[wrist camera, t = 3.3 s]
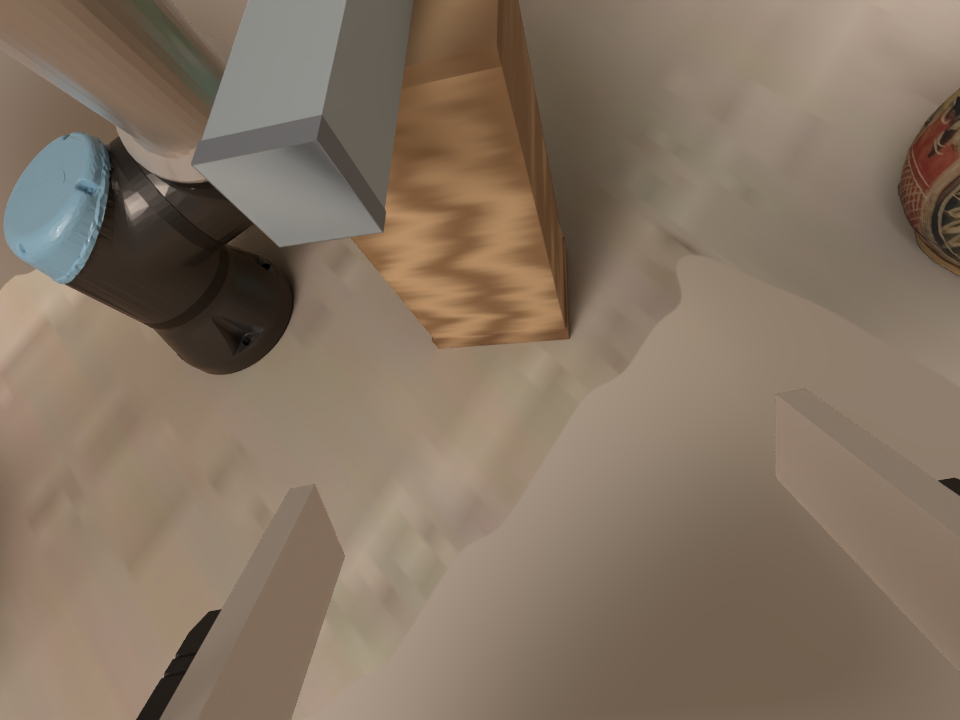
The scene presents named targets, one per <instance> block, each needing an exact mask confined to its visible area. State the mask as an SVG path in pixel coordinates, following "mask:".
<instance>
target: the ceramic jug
mask: <svg viewBox="0 0 960 720" xmlns="http://www.w3.org/2000/svg"><path fill="white" fill-rule="evenodd" d="M898 194H899V197H900V200H901V203H902V207H903V210H904V213H905V215H906V217H907V219H908V221H909V223H910V225H911V226H912V227H913V229H914V230H915V236H916V240H917V243H918V245H919V247H920V248H921V249H922V250H923V251H924V252H925V253H926V254H927V255H928V256H929V257H930V258H931V259H932V260H933V261H934V262H936V263H937V264H939V265H941V266H942V267H944V268H946V269H947V270H949V271H951V272H953V273H954V274H956V275H958V276H960V88H959V89H958V90H957V91H956V92H955V93H954V94H953V95H952V96H951V97H950V98H948V99H947V100H946V101H945V102H944V103H943V104H942V105H941V106H940V107H939V108H938V109H937V111H936V112H934V113H933V114H932V115H931V116H930V117H929V118H928V120H927V121H926V123H925V124H924V126H923V127H922V129H921V130H920V132H919V133H918V135H917V137H916V138H915V140H914V142H913V143H912V145H911V147H910V149H909V150H908V153H907V157H906V160H905V163H904V166H903V170H902V175H901V181H900V183H899V185H898Z"/></svg>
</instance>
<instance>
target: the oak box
mask: <svg viewBox="0 0 960 720" xmlns="http://www.w3.org/2000/svg"><path fill="white" fill-rule="evenodd" d="M385 210H386V218H385V225H384V232H383V233H378V234H371V235H364V236H357V237H350V238H351V239H352V240H353V241H354V242H355V244H356V245H357V246H358V247H359V249H360V250H361V251H362V252H363V253H364V255H365V256H366V257H367V258H368V259H369V261H370V262H371V263H372V264H373V265H374V267H375V268H376V269H377V270H378V272H379V273H380V274H381V275H382V276H383V278H384V279H385V280H386V281H387V282H388V284H389V285H390V286H391V287H392V288H393V290H394V291H395V292H396V293H397V294H398V296H399V297H400V298H401V299H402V301H403V302H404V303H405V304H406V305H407V307H408V308H409V309H410V310H411V311H412V313H413V314H414V315H415V316H416V317H417V319H418V320H419V321H420V322H421V324H422V325H423V326H424V327H425V328H426V330H427V331H428V332H429V333H430V334H431V336H432V341H433V342H434V344H435V345H436V346H437V347H438V348H439V349H440V348H454V347H467V346H481V345H494V344H508V343H521V342H535V341H548V340H562V339H569V310H568V280H567V251H566V243H565V238H564V237H563V238H562V234H561V229H560V223H559V218H558V212H557V207H556V202H555V196H554V191H553V185H552V180H551V175H550V169H549V164H548V158H547V153H546V148H545V142H544V137H543V131H542V126H541V121H540V115H539V110H538V104H537V99H536V94H535V88H534V83H533V77H532V72H531V67H530V61H529V56H528V50H527V45H526V40H525V34H524V29H523V23H522V18H521V13H520V7H519V2H518V0H414V1H413V8H412V15H411V22H410V30H409V37H408V44H407V51H406V59H405V66H404V73H403V81H402V88H401V95H400V102H399V110H398V117H397V124H396V132H395V139H394V146H393V153H392V161H391V168H390V175H389V182H388V190H387V197H386V204H385Z"/></svg>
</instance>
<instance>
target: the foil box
mask: <svg viewBox="0 0 960 720" xmlns="http://www.w3.org/2000/svg"><path fill="white" fill-rule="evenodd" d="M413 1H414V0H248V2H247V5H246V8H245V11H244V14H243V17H242V21H241V24H240V27H239V30H238V32H237V36H236V38H235V41H234V44H233V47H232V50H231V53H230V56H229V59H228V62H227V65H226V68H225V71H224V74H223V77H222V80H221V83H220V86H219V89H218V92H217V95H216V98H215V101H214V104H213V107H212V110H211V113H210V116H209V119H208V122H207V125H206V128H205V131H204V134H203V137H202V140H201V141H198V144H197V147H196V150H195V153H194V156H193V159H192V162H191V166H192V167H194V168H195V169H196V170H197V171H198V172H199V173H200V174H201V175H202V176H203V177H204V178H205V179H206V180H207V181H209V182H210V183H211V184H212V185H213V186H214V187H215V188H216V189H217V190H218V191H219V192H220V193H221V194H223V195H224V196H225V197H226V198H227V199H228V200H229V201H230V202H231V203H232V204H233V205H234V206H235V207H237V208H238V209H239V210H240V211H241V212H242V213H243V214H244V215H245V216H246V217H247V218H248V219H249V220H250V221H252V222H253V223H254V224H255V225H256V226H257V227H258V228H259V229H260V230H261V231H262V232H263V233H264V234H266V235H267V236H268V237H269V238H270V239H271V240H272V241H273V242H274V243H275V244H276V245H277V246H278V247H286V246H293V245H300V244H307V243H314V242H321V241H329V240H336V239H343V238H350V237H357V236H364V235H371V234H378V233H383V232H384V225H385V218H386V210H385V204H386V197H387V190H388V182H389V175H390V168H391V161H392V153H393V146H394V139H395V132H396V124H397V117H398V110H399V102H400V95H401V88H402V81H403V73H404V66H405V59H406V51H407V44H408V37H409V30H410V22H411V15H412V8H413Z"/></svg>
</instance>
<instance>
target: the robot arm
mask: <svg viewBox="0 0 960 720" xmlns="http://www.w3.org/2000/svg"><path fill="white" fill-rule="evenodd" d="M0 49H1V50H2V51H4V52H5V53H7V54H8V55H10V56H11V57H13V58H14V59H16V60H17V61H19V62H20V63H22V64H23V65H25V66H26V67H28V68H29V69H31V70H32V71H34V72H35V73H37V74H38V75H40V76H42V77H43V78H45V79H46V80H48V81H49V82H51V83H52V84H54V85H55V86H57V87H58V88H60V89H61V90H63V91H64V92H66V93H67V94H69V95H70V96H72V97H73V98H75V99H76V100H78V101H79V102H81V103H83V104H84V105H86V106H87V107H89V108H90V109H92V110H93V111H95V112H96V113H98V114H99V115H101V116H102V117H104V118H105V119H107V120H108V121H110V122H111V123H113V124H114V125H116V129H117V132H118V134H119V137H117V138H116V139H114V140H113V141H111V142H110V143H109V144H107V145H105V144H104V143H103V142H102V141H101V140H100V139H99V138H97V137H94V136H91V135H89V134H86V133H83V132H73V133H71V134H70V135H63V136H61V137H59V138H57V139H55V140H54V141H53V142H51V143H50V144H48V145H47V146H46V147H45V148H44V149H43V150H42V151H41V152H40V153H39V154H38V155H37V156H36V157H35V158H34V159H33V160H32V161H31V163H30V164H29V165H28V166H27V168H26V169H25V170H24V172H23V173H22V175H21V176H20V178H19V180H18V181H17V183H16V185H15V187H14V189H13V191H12V194H11V195H10V198H9V200H8V203H7V207H6V210H5V215H4V235H5V239H6V241H7V243H8V245H9V247H10V249H11V250H12V252H13V253H14V254H15V255H16V256H17V257H19V258H20V259H21V260H23V261H25V262H26V263H28V264H29V265H31V266H33V267H34V268H36V269H38V270H39V271H41V272H43V273H44V274H46V275H48V276H49V277H51V278H52V279H53V280H54V281H56V282H57V283H60V284H65V285H67V286H69V287H71V288H73V289H75V290H77V291H79V292H81V293H83V294H85V295H87V296H89V297H91V298H93V299H95V300H97V301H99V302H101V303H103V304H105V305H107V306H109V307H111V308H113V309H115V310H117V311H119V312H121V313H123V314H125V315H127V316H129V317H131V318H133V319H135V320H137V321H140V322H142V323H144V324H145V325H147V326H149V327H151V328H153V329H154V330H155V331H156V332H157V333H158V334H159V335H160V336H161V337H162V339H163V340H164V341H165V342H166V343H167V344H168V345H169V346H170V347H171V348H172V349H173V350H174V351H175V352H176V353H177V355H178V356H179V357H180V358H181V359H182V360H184V361H185V362H186V363H188V364H189V365H191V366H193V367H196V368H198V369H200V370H202V371H204V372H207V373H210V374H217V375H223V374H230V373H234V372H237V371H240V370H243V369H245V368H247V367H249V366H251V365H252V364H254V363H255V362H257V361H258V360H260V359H261V358H262V357H263V356H264V355H265V354H267V353H268V352H269V351H270V350H271V348H272V347H273V346H274V345H275V344H276V342H277V341H278V340H279V338H280V337H281V335H282V334H283V332H284V330H285V328H286V326H287V324H288V321H289V318H290V315H291V311H292V303H293V296H292V289H291V286H290V283H289V281H288V279H287V277H286V276H285V275H284V274H283V273H282V272H281V271H280V270H279V269H278V268H277V267H276V266H274V265H273V264H272V263H271V262H269V261H268V260H266V259H265V258H263V257H260V256H258V255H255V254H252V253H250V252H247V251H244V250H242V249H239V248H236V247H233V246H231V245H228V244H227V243H228V242H229V241H231V240H232V239H233V238H235V237H236V236H238V235H239V234H241V233H242V232H243V231H245V230H246V229H248V228H249V227H250V226H252V225H253V224H254V223H253V222H252V221H250V220H249V219H248V218H247V217H246V216H245V215H244V214H243V213H242V212H241V211H240V210H239V209H238V208H237V207H235V206H234V205H233V204H232V203H231V202H230V201H229V200H228V199H227V198H226V197H225V196H224V195H223V194H221V193H220V192H219V191H218V190H217V189H216V188H215V187H214V186H213V185H212V184H211V183H210V182H209V181H207V180H206V179H205V178H204V177H203V176H202V175H201V174H200V173H199V172H198V171H197V170H196V169H195V168H194V167H192V166H191V162H192V159H193V156H194V153H195V150H196V147H197V144H198V141H201V140H202V137H203V134H204V131H205V128H206V125H207V122H208V119H209V116H210V113H211V110H212V107H213V104H214V101H215V98H216V95H217V92H218V89H219V86H220V83H221V80H222V77H223V74H224V71H225V68H226V65H227V62H228V59H229V56H230V53H231V50H232V46H231V45H229V44H227V43H226V42H224V41H222V40H220V39H217V38H215V37H212V36H209V35H205V34H199V33H198V32H197V31H196V29H195V28H194V27H193V26H192V25H191V23H190V22H189V21H188V20H187V19H186V17H185V16H184V15H183V14H182V13H181V12H180V10H179V9H178V8H177V7H176V6H175V5H174V3H173V2H172V1H171V0H0ZM775 470H776V472H775V474H776V476H775V477H776V478H777V479H778V481H779V482H780V483H781V484H782V485H783V486H784V487H785V488H786V489H787V490H788V491H789V492H790V493H791V494H792V495H793V496H794V497H795V499H796V500H797V501H798V502H799V503H800V504H801V505H802V506H803V507H804V508H805V509H806V510H807V511H808V512H809V513H810V514H811V515H812V517H813V518H814V519H815V520H816V521H817V522H818V523H819V524H820V525H821V526H822V527H823V528H824V529H825V530H826V531H827V532H828V534H830V535H831V537H832V538H833V539H834V540H835V541H836V542H837V543H838V544H839V545H840V546H841V547H842V548H843V549H844V550H845V551H846V552H847V554H848V555H849V556H850V557H851V558H852V559H853V560H854V561H855V562H856V563H857V564H858V565H859V566H860V567H861V568H862V570H863V571H864V572H865V573H866V574H867V575H868V576H869V577H870V578H871V579H872V580H873V581H874V582H875V583H876V584H877V585H878V586H879V587H880V588H881V590H882V591H883V592H884V593H885V594H886V595H887V596H888V597H889V598H890V599H891V600H892V601H893V602H894V603H895V604H896V606H897V607H898V608H900V610H901V611H902V612H903V613H904V614H905V615H906V616H907V617H908V618H909V619H910V620H911V621H912V623H914V625H915V626H916V627H917V628H918V629H919V630H920V631H921V632H922V633H923V634H924V635H925V636H926V637H927V638H928V639H929V640H930V642H932V644H933V645H934V646H935V647H936V648H937V649H938V650H939V651H940V652H941V653H942V654H943V655H944V656H945V657H946V659H948V661H949V662H950V663H951V664H952V665H953V666H954V667H955V668H956V669H957V670H958V671H959V672H960V480H959V479H957V478H950V479H944V480H939V481H937V480H936V479H934V478H933V477H931V476H930V475H928V474H927V473H926V472H924V471H923V470H921V469H920V468H918V467H917V466H916V465H914V464H912V463H911V462H910V461H908V460H907V459H905V458H904V457H903V456H901V455H900V454H898V453H897V452H895V451H894V450H893V449H891V448H890V447H888V446H887V445H885V444H884V443H882V442H881V441H879V440H878V439H877V438H875V437H874V436H872V435H871V434H870V433H868V432H867V431H865V430H864V429H862V428H861V427H859V426H858V425H856V424H855V423H854V422H852V421H851V420H849V419H848V418H846V417H845V416H843V415H842V414H841V413H839V412H838V411H836V410H835V409H834V408H832V407H831V406H829V405H828V404H826V403H825V402H823V401H822V400H821V399H819V398H818V397H816V396H815V395H813V394H812V393H811V392H809V391H808V390H806V389H800V390H795V391H790V392H785V393H780V394H776V469H775ZM344 557H345V555H344V552H343V550H342V548H341V545H340V543H339V540H338V538H337V536H336V533H335V531H334V528H333V526H332V524H331V521H330V519H329V517H328V514H327V512H326V509H325V507H324V505H323V502H322V500H321V498H320V495H319V493H318V490H317V488H316V486H315V484H312V485H307V486H302V487H297V488H292V489H290V490H289V491H288V493H287V495H286V497H285V498H284V500H283V502H282V504H281V505H280V507H279V509H278V511H277V513H276V514H275V516H274V518H273V520H272V521H271V523H270V525H269V527H268V528H267V530H266V532H265V534H264V536H263V537H262V539H261V541H260V543H259V544H258V546H257V548H256V550H255V551H254V553H253V555H252V557H251V558H250V560H249V562H248V564H247V566H246V567H245V569H244V571H243V573H242V574H241V576H240V578H239V580H238V581H237V583H236V585H235V587H234V589H233V590H232V592H231V594H230V596H229V597H228V599H227V601H226V603H225V604H224V606H223V608H222V609H220V610H215V611H209V612H208V613H207V614H206V615H205V616H204V617H203V618H202V620H201V621H200V622H199V623H198V624H197V625H196V626H195V627H194V628H193V629H192V630H191V631H190V632H189V634H188V635H187V637H186V638H185V640H184V642H183V643H182V645H181V647H180V648H179V650H178V652H177V653H176V658H175V659H173V660H172V662H171V663H170V665H169V666H168V668H167V670H166V671H165V673H164V678H161V680H160V681H159V683H158V685H157V686H156V688H155V690H154V691H153V693H152V695H151V696H150V698H149V699H148V701H147V703H146V704H145V706H144V708H143V709H142V711H141V713H140V714H139V716H138V718H137V719H136V720H291V718H292V715H293V712H294V709H295V706H296V703H297V700H298V697H299V694H300V691H301V687H302V684H303V681H304V678H305V675H306V672H307V669H308V666H309V663H310V660H311V657H312V654H313V651H314V648H315V645H316V642H317V639H318V636H319V633H320V630H321V627H322V624H323V621H324V618H325V615H326V612H327V609H328V606H329V603H330V600H331V597H332V594H333V591H334V588H335V585H336V582H337V579H338V576H339V573H340V570H341V566H342V563H343V560H344Z"/></svg>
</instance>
